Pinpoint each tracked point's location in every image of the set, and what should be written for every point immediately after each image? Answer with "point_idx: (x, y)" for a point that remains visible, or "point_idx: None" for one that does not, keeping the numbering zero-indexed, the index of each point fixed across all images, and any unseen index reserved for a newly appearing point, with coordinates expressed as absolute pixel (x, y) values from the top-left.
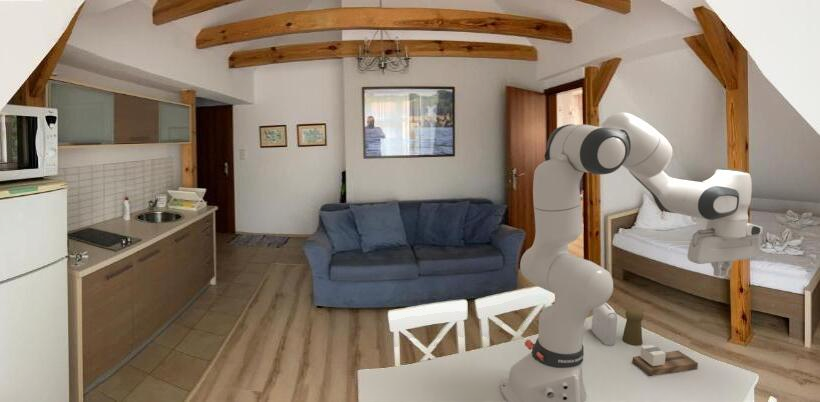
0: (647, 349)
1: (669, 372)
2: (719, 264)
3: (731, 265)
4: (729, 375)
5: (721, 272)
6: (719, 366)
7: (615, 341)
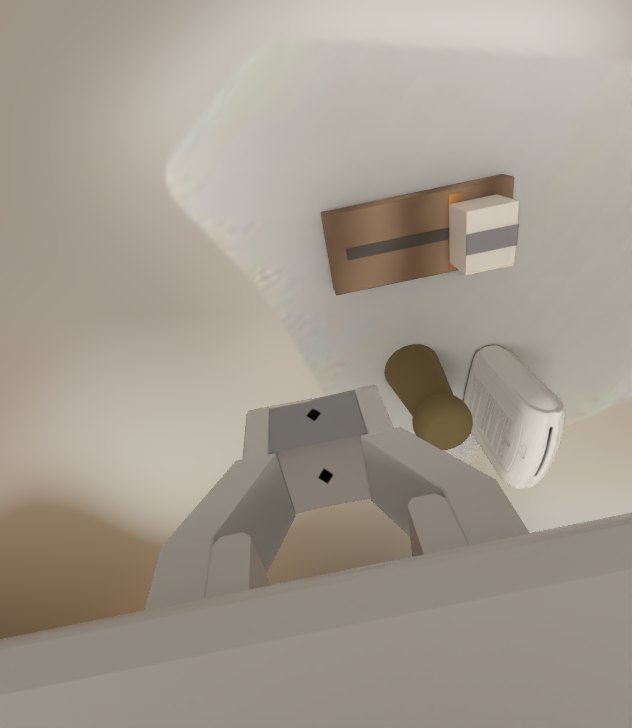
0: (514, 238)
1: (429, 190)
2: (468, 502)
3: (193, 522)
4: (236, 171)
5: (356, 418)
6: (235, 227)
7: (479, 354)
